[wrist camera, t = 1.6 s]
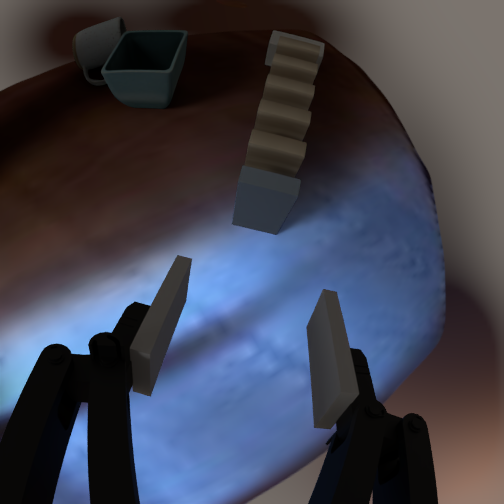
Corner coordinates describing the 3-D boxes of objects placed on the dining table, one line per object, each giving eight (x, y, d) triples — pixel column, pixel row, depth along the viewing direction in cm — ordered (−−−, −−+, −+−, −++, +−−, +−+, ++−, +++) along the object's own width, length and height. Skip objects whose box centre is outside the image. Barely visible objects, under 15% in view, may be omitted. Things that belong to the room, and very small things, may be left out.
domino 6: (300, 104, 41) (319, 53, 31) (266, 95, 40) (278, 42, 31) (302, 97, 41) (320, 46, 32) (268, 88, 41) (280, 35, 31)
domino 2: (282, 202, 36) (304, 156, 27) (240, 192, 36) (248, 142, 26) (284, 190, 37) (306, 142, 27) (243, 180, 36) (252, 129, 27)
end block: (315, 77, 43) (322, 57, 38) (264, 64, 42) (268, 43, 38) (317, 63, 44) (324, 43, 39) (269, 50, 43) (273, 30, 39)
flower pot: (190, 76, 40) (188, 29, 32) (177, 120, 38) (171, 71, 29) (134, 75, 39) (124, 30, 31) (115, 118, 37) (99, 73, 28)
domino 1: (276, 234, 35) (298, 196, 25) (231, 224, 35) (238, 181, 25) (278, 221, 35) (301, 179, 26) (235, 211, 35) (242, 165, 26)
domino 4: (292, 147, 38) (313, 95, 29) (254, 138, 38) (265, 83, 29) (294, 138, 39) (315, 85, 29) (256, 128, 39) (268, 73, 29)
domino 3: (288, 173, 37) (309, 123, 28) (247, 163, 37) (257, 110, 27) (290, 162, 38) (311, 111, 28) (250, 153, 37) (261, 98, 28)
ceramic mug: (84, 55, 40) (73, 23, 33) (129, 42, 42) (122, 8, 34) (80, 95, 38) (64, 61, 31) (130, 80, 39) (120, 43, 32)
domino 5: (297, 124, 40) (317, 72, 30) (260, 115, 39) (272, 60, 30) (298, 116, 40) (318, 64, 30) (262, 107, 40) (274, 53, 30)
